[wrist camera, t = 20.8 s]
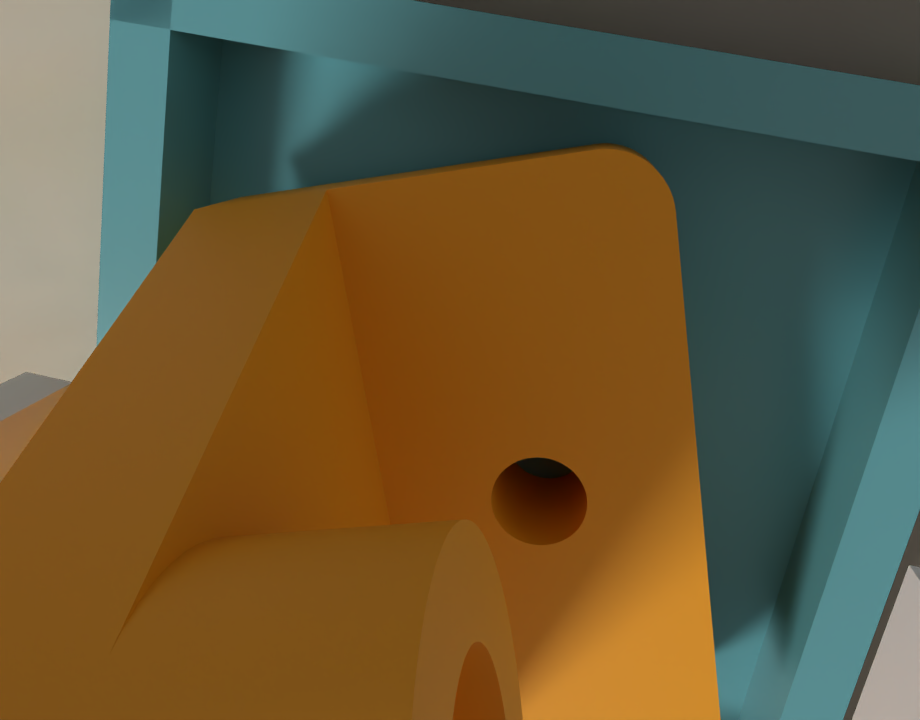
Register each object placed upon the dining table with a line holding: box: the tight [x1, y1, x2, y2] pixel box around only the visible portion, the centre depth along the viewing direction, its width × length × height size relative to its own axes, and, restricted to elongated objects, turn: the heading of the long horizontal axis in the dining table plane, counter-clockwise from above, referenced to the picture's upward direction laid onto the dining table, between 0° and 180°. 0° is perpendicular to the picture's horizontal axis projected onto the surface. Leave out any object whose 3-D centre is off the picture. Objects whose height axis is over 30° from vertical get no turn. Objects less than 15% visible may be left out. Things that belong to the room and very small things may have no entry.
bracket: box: [0, 143, 721, 720], centre depth 11 cm, size 11×7×12 cm, turn 9°
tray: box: [97, 0, 920, 720], centre depth 16 cm, size 15×14×2 cm
